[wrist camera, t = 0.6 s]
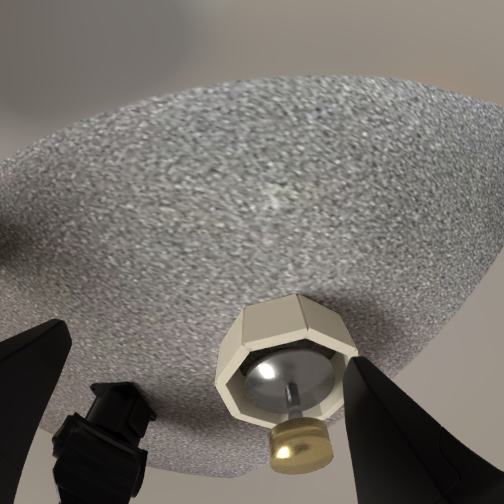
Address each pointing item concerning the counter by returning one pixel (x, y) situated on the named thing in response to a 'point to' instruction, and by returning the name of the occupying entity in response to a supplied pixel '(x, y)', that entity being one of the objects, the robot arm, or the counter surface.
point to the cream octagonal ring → (275, 333)
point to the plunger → (293, 405)
